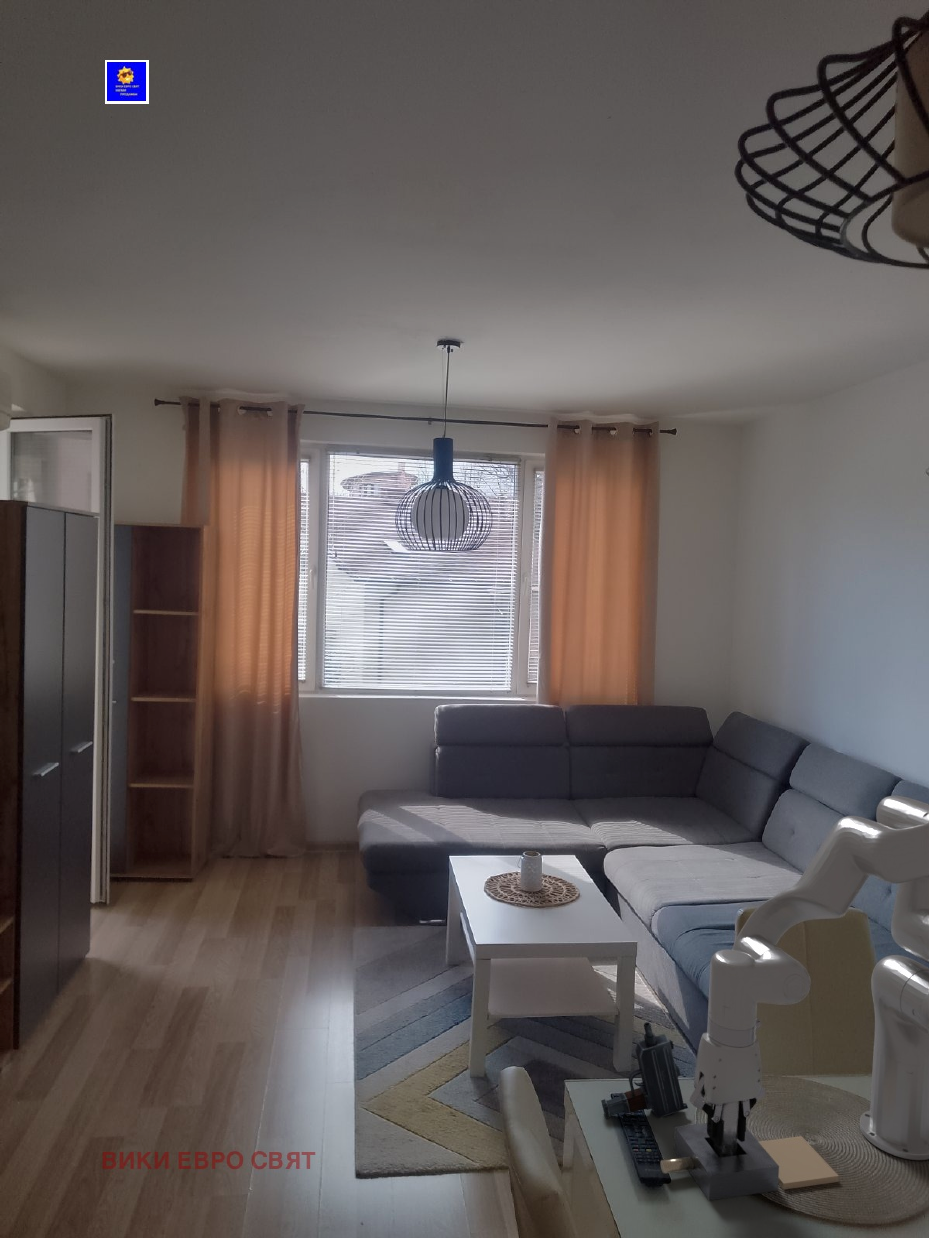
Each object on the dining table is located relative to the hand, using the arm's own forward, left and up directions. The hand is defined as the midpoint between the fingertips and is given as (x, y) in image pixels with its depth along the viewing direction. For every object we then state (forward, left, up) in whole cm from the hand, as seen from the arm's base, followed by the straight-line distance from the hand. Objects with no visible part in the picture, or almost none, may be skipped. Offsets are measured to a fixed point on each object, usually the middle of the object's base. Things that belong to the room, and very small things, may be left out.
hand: (726, 1136), depth 141 cm
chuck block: (+3, 0, -5) cm, 6 cm away
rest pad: (-12, +1, -5) cm, 13 cm away
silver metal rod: (0, 0, -4) cm, 4 cm away
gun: (+7, -16, -6) cm, 18 cm away
